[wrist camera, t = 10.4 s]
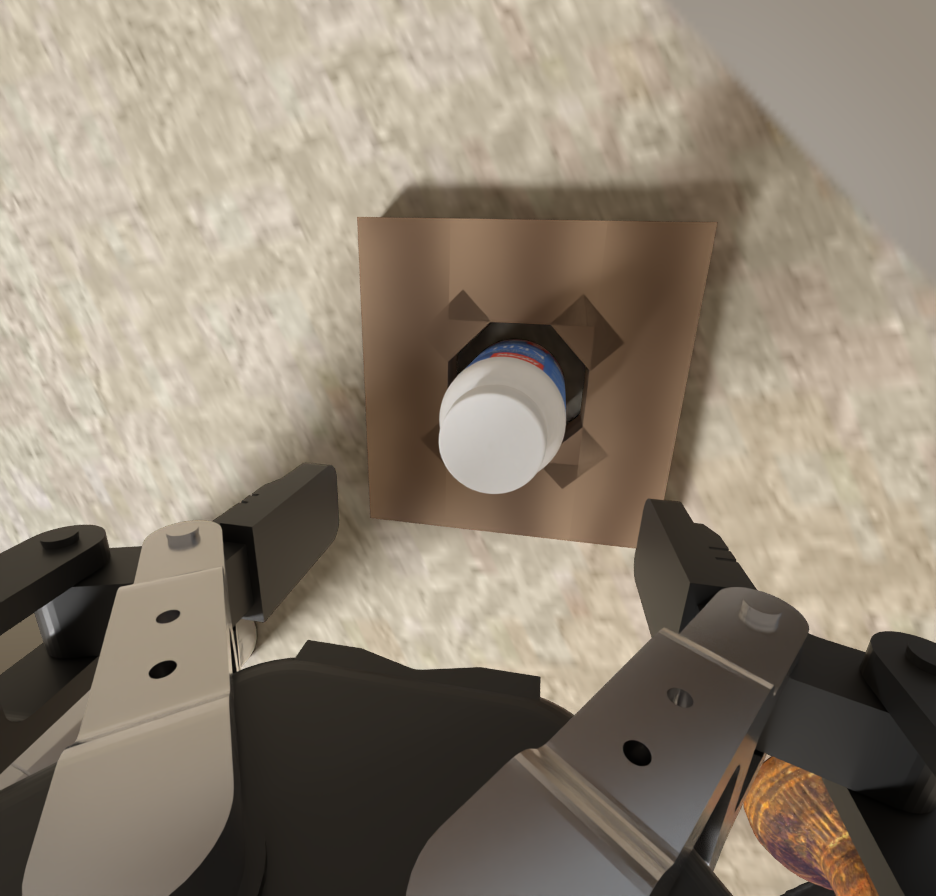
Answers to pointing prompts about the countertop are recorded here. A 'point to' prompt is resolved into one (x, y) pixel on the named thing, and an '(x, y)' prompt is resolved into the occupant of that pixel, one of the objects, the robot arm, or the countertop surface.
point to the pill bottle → (503, 417)
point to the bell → (805, 829)
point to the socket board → (531, 302)
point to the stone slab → (809, 890)
